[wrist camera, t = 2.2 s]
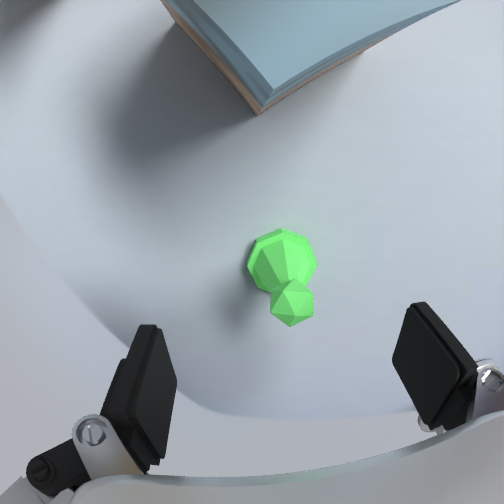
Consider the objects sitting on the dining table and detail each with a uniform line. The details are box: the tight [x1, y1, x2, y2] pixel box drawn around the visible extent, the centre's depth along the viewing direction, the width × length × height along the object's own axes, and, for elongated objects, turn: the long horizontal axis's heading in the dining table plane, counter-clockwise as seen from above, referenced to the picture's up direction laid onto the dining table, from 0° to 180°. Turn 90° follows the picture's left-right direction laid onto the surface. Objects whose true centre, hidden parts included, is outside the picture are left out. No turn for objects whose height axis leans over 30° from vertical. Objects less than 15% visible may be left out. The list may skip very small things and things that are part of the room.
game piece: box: [247, 228, 317, 327], centre depth 16 cm, size 4×4×6 cm
